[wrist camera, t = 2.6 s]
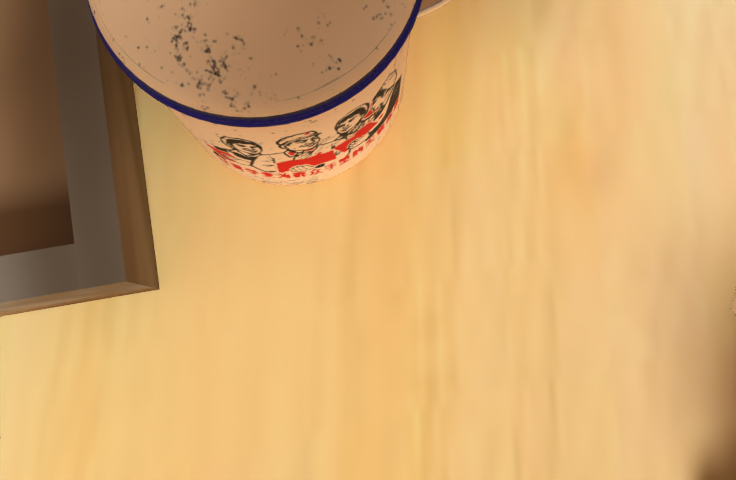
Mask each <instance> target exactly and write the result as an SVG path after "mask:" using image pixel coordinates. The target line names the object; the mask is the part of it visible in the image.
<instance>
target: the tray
mask: <svg viewBox="0 0 736 480" xmlns="http://www.w3.org/2000/svg"><path fill="white" fill-rule="evenodd" d="M158 289H159V283H158V276H157V268H156V260H155V252H154V244H153V237H152V229H151V221H150V213H149V206H148V198H147V190H146V182H145V175H144V167H143V159H142V151H141V143H140V136H139V128H138V120H137V112H136V105H135V97H134V89H133V81H132V80H131V79H130V78H129V77H128V76H127V75H126V74H125V72H124V71H123V70H122V69H121V68H120V67H119V65H118V64H117V63H116V62H115V60H114V59H113V57H112V56H111V54H110V53H109V52H108V50H107V49H106V47H105V45H104V43H103V41H102V39H101V38H100V36H99V34H98V31H97V29H96V27H95V24H94V22H93V19H92V16H91V12H90V9H89V6H88V1H87V0H0V316H5V315H11V314H17V313H23V312H28V311H34V310H40V309H46V308H52V307H58V306H64V305H70V304H75V303H81V302H87V301H93V300H99V299H105V298H111V297H116V296H122V295H128V294H134V293H140V292H146V291H152V290H158Z"/></svg>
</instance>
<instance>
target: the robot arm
mask: <svg viewBox="0 0 736 480" xmlns="http://www.w3.org/2000/svg"><path fill="white" fill-rule="evenodd" d="M730 309H731V310H732V311H733V312H734V314H735V315H736V289H735V293H734V297H733V301H732V304H731V308H730ZM0 438H1V437H0Z"/></svg>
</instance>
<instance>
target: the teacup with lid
mask: <svg viewBox="0 0 736 480" xmlns="http://www.w3.org/2000/svg"><path fill="white" fill-rule="evenodd" d="M87 1H88V6H89V9H90V12H91V16H92V19H93V22H94V24H95V27H96V29H97V31H98V34H99V36H100V38H101V39H102V41H103V43H104V45H105V47H106V49H107V50H108V52H109V53H110V54H111V56H112V57H113V59H114V60H115V62H116V63H117V64H118V65H119V67H120V68H121V69H122V70H123V71H124V72H125V74H126V75H127V76H128V77H129V78H130V79H131V80H133V81H134V82H135V83H136V84H137V85H138V86H139V87H140V88H141V89H143V90H144V91H145V92H147V93H148V94H149V95H151V96H152V97H153V98H155V99H157V100H158V101H160V102H161V103H163V104H165V105H166V106H167V107H168V108H169V109H170V110H171V111H172V113H173V114H174V115H175V116H176V117H177V118H178V119H179V120H180V122H181V123H182V124H183V125H184V126H185V127H186V128H187V130H188V131H189V132H190V133H191V134H192V135H193V136H194V137H195V139H196V140H197V141H198V142H199V143H200V144H201V145H202V147H203V148H204V149H205V150H206V151H207V152H208V153H209V154H210V155H211V156H212V157H213V158H215V159H216V160H217V161H219V162H220V163H221V164H222V165H224V166H226V167H227V168H229V169H230V170H232V171H234V172H236V173H238V174H240V175H242V176H245V177H247V178H250V179H253V180H256V181H260V182H264V183H269V184H275V185H301V184H309V183H314V182H318V181H322V180H325V179H328V178H331V177H333V176H336V175H338V174H340V173H342V172H344V171H346V170H348V169H349V168H351V167H353V166H354V165H355V164H357V163H358V162H360V161H361V160H362V159H363V158H365V157H366V156H367V155H368V154H369V153H370V152H371V151H372V150H373V149H374V148H375V147H376V146H377V145H378V143H379V142H380V141H381V140H382V138H383V137H384V136H385V134H386V132H387V131H388V129H389V128H390V126H391V124H392V122H393V120H394V118H395V116H396V113H397V110H398V108H399V104H400V101H401V97H402V91H403V85H404V77H405V69H406V61H407V53H408V45H409V37H410V32H411V30H412V28H413V26H414V23H415V20H416V18H419V17H421V16H424V15H426V14H428V13H430V12H432V11H434V10H436V9H438V8H440V7H442V6H444V5H445V4H447V3H449V2H450V1H452V0H87Z"/></svg>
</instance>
